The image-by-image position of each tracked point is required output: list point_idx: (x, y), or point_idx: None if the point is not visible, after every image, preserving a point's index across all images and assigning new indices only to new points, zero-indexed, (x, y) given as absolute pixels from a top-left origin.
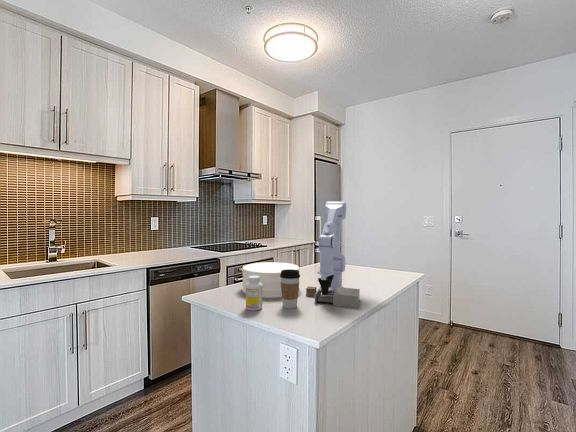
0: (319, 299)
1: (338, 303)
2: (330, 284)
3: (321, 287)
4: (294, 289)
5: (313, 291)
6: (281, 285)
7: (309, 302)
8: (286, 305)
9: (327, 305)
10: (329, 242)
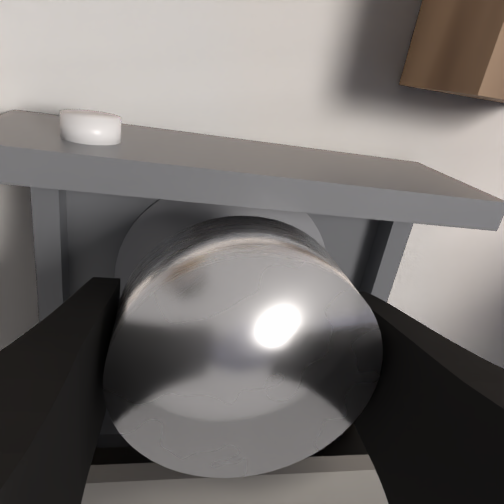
0: (39, 202)
1: None
2: (377, 464)
3: (2, 358)
4: None
5: (456, 64)
6: None
7: (54, 7)
8: None
9: (4, 293)
10: None
